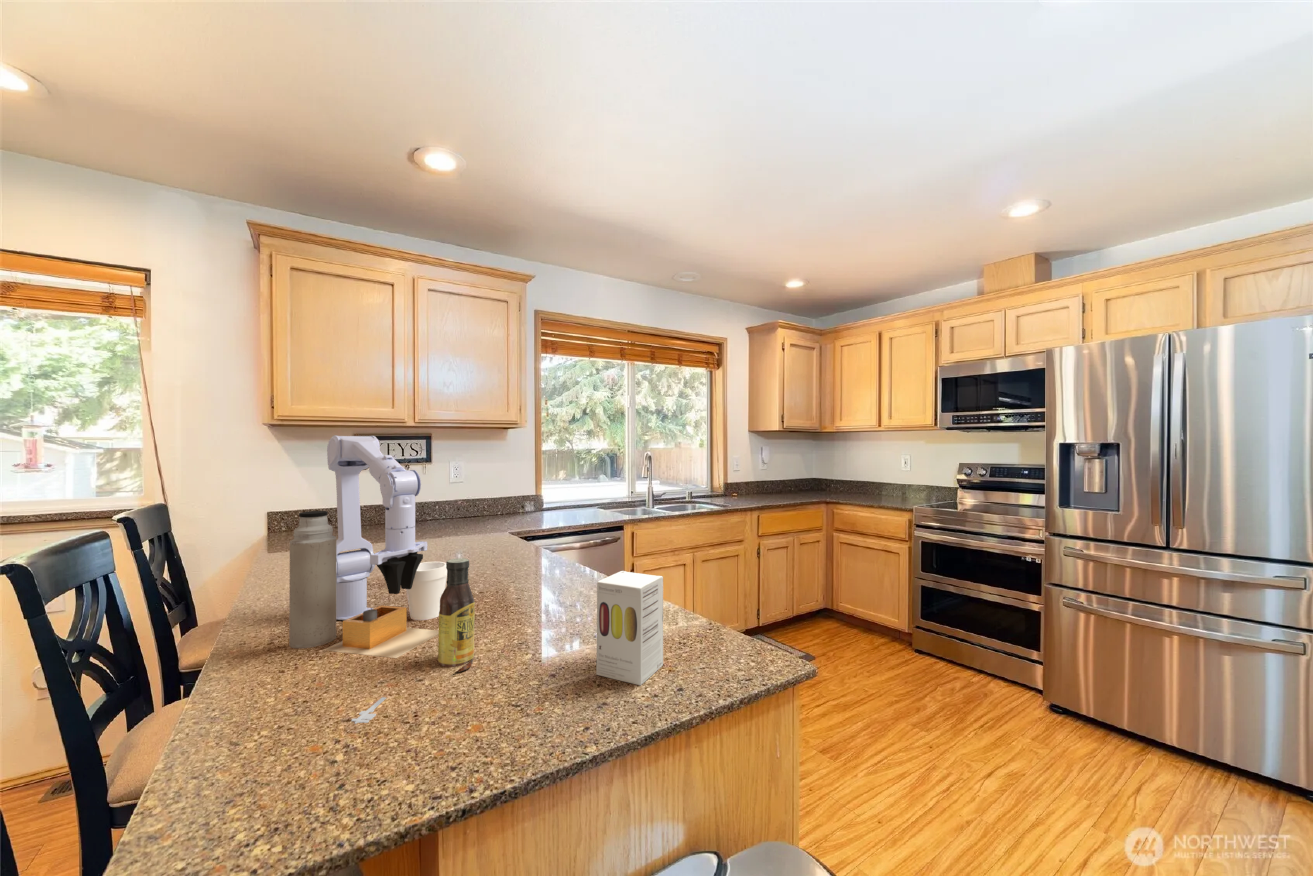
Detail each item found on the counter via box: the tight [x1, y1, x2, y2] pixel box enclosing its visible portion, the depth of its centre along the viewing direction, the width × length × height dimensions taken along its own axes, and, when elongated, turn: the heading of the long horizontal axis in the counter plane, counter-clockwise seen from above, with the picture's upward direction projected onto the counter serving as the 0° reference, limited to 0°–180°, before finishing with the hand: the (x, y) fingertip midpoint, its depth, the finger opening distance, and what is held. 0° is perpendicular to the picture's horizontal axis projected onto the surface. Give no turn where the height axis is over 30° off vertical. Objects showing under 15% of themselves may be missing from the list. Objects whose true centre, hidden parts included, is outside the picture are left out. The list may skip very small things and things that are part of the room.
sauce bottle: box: [437, 557, 476, 673], centre depth 94 cm, size 6×6×20 cm
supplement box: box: [595, 570, 664, 686], centre depth 92 cm, size 10×9×17 cm
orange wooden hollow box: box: [342, 605, 408, 649], centre depth 104 cm, size 10×6×5 cm, turn 167°
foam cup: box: [405, 561, 447, 621], centre depth 118 cm, size 10×9×13 cm
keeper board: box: [323, 609, 439, 659], centre depth 103 cm, size 17×14×8 cm
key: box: [351, 697, 387, 725], centre depth 81 cm, size 12×1×3 cm
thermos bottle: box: [288, 510, 337, 649], centre depth 103 cm, size 8×8×28 cm
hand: (400, 591), depth 107 cm, fingers open, 3 cm apart
